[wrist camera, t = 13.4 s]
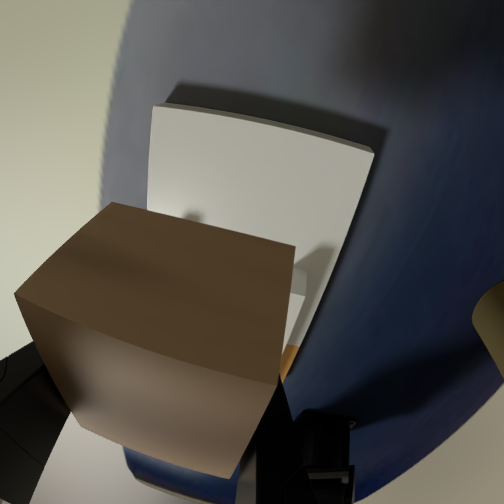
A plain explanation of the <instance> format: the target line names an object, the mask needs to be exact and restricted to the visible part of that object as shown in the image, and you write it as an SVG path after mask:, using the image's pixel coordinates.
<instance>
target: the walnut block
mask: <svg viewBox="0 0 504 504" xmlns="http://www.w3.org/2000/svg"><path fill="white" fill-rule="evenodd" d="M295 249H296V246H293V245H289V244H285V243H281V242H277V241H273V240H269V239H265V238H261V237H257V236H253V235H249V234H245V233H241V232H237V231H233V230H228V229H224V228H220V227H216V226H212V225H208V224H204V223H200V222H195V221H191V220H187V219H183V218H179V217H174V216H170V215H166V214H162V213H158V212H153V211H149V210H145V209H140V208H136V207H132V206H127V205H123V204H119V203H114V202H111V203H110V204H109V205H108V206H106V207H105V208H104V209H103V210H102V211H100V212H99V213H98V214H97V215H96V216H95V217H93V218H92V219H91V220H90V221H89V222H88V223H86V224H85V225H84V226H83V227H82V228H81V229H80V230H79V231H77V232H76V233H75V234H74V235H73V236H72V237H71V238H70V239H69V240H67V241H66V242H65V243H64V244H63V245H62V246H61V247H60V248H59V249H58V250H57V251H56V252H55V253H54V254H53V255H52V256H50V257H49V258H48V259H47V260H46V261H45V262H44V263H43V264H42V265H41V266H40V267H39V268H38V269H37V270H36V271H35V272H34V273H33V274H32V275H31V276H30V277H29V278H28V279H27V280H26V281H25V282H24V283H23V285H21V286H20V287H19V289H18V290H17V291H16V292H15V293H14V295H15V298H16V301H17V303H18V306H19V308H20V311H21V313H22V316H23V318H24V321H25V323H26V326H27V328H28V330H29V332H30V335H31V337H32V339H33V341H34V343H35V346H36V348H37V350H38V352H39V354H40V356H41V358H42V360H43V362H44V364H45V366H46V368H47V370H48V372H49V374H50V376H51V377H52V379H53V381H54V383H55V385H56V387H57V388H58V390H59V392H60V394H61V395H62V397H63V399H64V400H65V402H66V404H67V405H68V407H69V409H70V410H71V412H72V413H73V415H74V417H75V418H76V420H77V421H78V423H79V424H80V426H81V427H83V428H85V429H87V430H89V431H91V432H93V433H95V434H97V435H100V436H102V437H104V438H106V439H109V440H111V441H113V442H115V443H118V444H120V445H123V446H125V447H128V448H130V449H133V450H135V451H138V452H140V453H143V454H146V455H149V456H151V457H154V458H157V459H160V460H163V461H166V462H169V463H172V464H175V465H178V466H182V467H185V468H188V469H192V470H195V471H199V472H203V473H206V474H210V475H214V476H218V477H222V478H227V479H230V477H231V475H232V473H233V472H234V470H235V468H236V466H237V464H238V462H239V460H240V459H241V457H242V455H243V453H244V451H245V449H246V447H247V445H248V443H249V442H250V440H251V438H252V436H253V434H254V432H255V430H256V428H257V426H258V424H259V422H260V420H261V418H262V416H263V414H264V412H265V410H266V408H267V406H268V404H269V402H270V400H271V397H272V395H273V393H274V391H275V389H276V387H277V383H278V377H279V370H280V363H281V357H282V350H283V343H284V336H285V329H286V321H287V314H288V306H289V298H290V291H291V283H292V274H293V266H294V257H295Z"/></svg>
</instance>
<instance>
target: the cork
mask: <svg viewBox="0 0 504 504" xmlns="http://www.w3.org/2000/svg"><path fill="white" fill-rule="evenodd" d="M472 323H473V326H474V327H475V329H476V331H477V332H478V334H479V336H480V337H481V339H482V341H483V342H484V344H485V346H486V347H487V349H488V351H489V353H490V354H491V356H492V358H493V360H494V361H495V363H496V365H497V367H498V369H499V371H500V372H501V374H502V376H503V378H504V281H502V282H500V283H498V284H496V285H494V286H493V287H492V288H490V289H489V290H488V291H487V292H486V293H485V294H484V295H483V296H482V297H481V298H480V300H479V301H478V303H477V305H476V307H475V308H474V312H473V315H472Z"/></svg>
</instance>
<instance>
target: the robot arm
mask: <svg viewBox="0 0 504 504" xmlns="http://www.w3.org/2000/svg"><path fill="white" fill-rule="evenodd" d="M70 412H71V410H70V409H69V407H68V405H67V404H66V402H65V400H64V399H63V397H62V395H61V394H60V392H59V390H58V388H57V387H56V385H55V383H54V381H53V379H52V377H51V376H50V374H49V372H48V370H47V368H46V366H45V364H44V362H43V360H42V358H41V356H40V354H39V352H38V350H37V348H36V346H35V343H34V341H33V342H31V343H29V344H27V345H26V346H24V347H22V348H21V349H19V350H18V351H16V352H14V353H12V354H11V355H9V356H8V357H5V358H4V359H2V360H0V504H2V502H3V500H4V501H6V502H8V503H11V504H29V503H30V500H31V498H32V495H33V493H34V490H35V488H36V486H37V483H38V481H39V479H40V476H41V474H42V472H43V470H44V466H45V465H46V463H47V460H48V458H49V456H50V454H51V452H52V449H53V447H54V445H55V443H56V441H57V439H58V437H59V435H60V432H61V430H62V428H63V426H64V424H65V422H66V420H67V418H68V416H69V414H70ZM355 424H356V419H352V418H344V417H337V416H330V415H324V414H317V413H311V412H302V413H301V414H300V415H299V417H298V418H297V419H296V421H295V422H293V419H292V416H291V412H290V409H289V405H288V402H287V398H286V395H285V391H284V387H283V384H282V380H281V377H280V373H279V377H278V383H277V387H276V389H275V391H274V393H273V395H272V397H271V400H270V402H269V404H268V406H267V408H266V410H265V412H264V414H263V416H262V418H261V420H260V422H259V424H258V426H257V428H256V430H255V432H254V434H253V436H252V438H251V440H250V442H249V443H248V445H247V447H246V449H245V451H244V453H243V455H242V457H241V460H240V468H239V477H238V485H237V493H236V501H235V504H354V494H355V465H350V466H349V445H350V429H351V428H352V427H353V426H354V425H355ZM342 482H348V484H344V483H342Z"/></svg>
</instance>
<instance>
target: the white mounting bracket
mask: <svg viewBox="0 0 504 504" xmlns="http://www.w3.org/2000/svg"><path fill="white" fill-rule="evenodd" d="M373 157H374V152H373V151H372V149H371V148H370V147H368V146H365V145H362V144H359V143H355V142H352V141H349V140H345V139H342V138H339V137H335V136H332V135H328V134H324V133H321V132H317V131H313V130H309V129H306V128H302V127H298V126H293V125H289V124H285V123H281V122H276V121H272V120H267V119H263V118H258V117H253V116H248V115H243V114H238V113H232V112H227V111H221V110H215V109H209V108H202V107H196V106H189V105H181V104H173V103H165V102H164V103H161V104H158V105H155V106H153V112H152V123H151V136H150V150H149V168H148V193H147V210H149V211H153V212H158V213H162V214H166V215H170V216H174V217H179V218H183V219H187V220H191V221H195V222H200V223H204V224H208V225H212V226H216V227H220V228H224V229H228V230H233V231H237V232H241V233H245V234H249V235H253V236H257V237H261V238H265V239H269V240H273V241H277V242H281V243H285V244H289V245H293V246H296V249H295V257H294V266H293V274H292V283H291V291H290V298H289V306H288V314H287V321H286V329H285V336H284V343H283V350H282V357H281V363H280V370H279V373H280V377H281V380H282V383H283V381H284V379H285V377H286V375H287V372H288V370H289V368H290V366H291V364H292V362H293V360H294V358H295V356H296V353H297V351H298V349H299V347H300V345H301V343H302V340H303V338H304V336H305V334H306V332H307V329H308V327H309V325H310V323H311V320H312V318H313V316H314V313H315V311H316V309H317V307H318V304H319V302H320V299H321V297H322V295H323V292H324V290H325V288H326V285H327V283H328V280H329V278H330V275H331V273H332V270H333V268H334V265H335V263H336V260H337V258H338V255H339V253H340V250H341V248H342V245H343V242H344V240H345V237H346V235H347V232H348V229H349V227H350V224H351V221H352V218H353V216H354V213H355V210H356V207H357V205H358V202H359V199H360V196H361V193H362V190H363V187H364V184H365V182H366V179H367V176H368V173H369V170H370V167H371V163H372V160H373Z"/></svg>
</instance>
